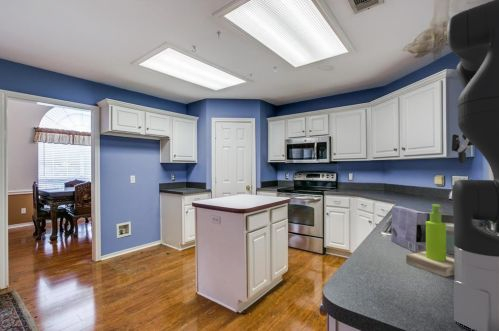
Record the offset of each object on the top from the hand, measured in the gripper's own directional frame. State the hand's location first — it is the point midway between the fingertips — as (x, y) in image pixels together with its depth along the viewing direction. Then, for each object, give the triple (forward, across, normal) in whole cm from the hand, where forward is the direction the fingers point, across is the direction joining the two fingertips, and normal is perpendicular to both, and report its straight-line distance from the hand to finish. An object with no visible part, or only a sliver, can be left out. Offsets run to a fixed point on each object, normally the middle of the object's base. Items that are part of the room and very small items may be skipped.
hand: (478, 162), depth 81 cm
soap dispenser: (+35, -10, -5) cm, 37 cm away
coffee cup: (+38, -18, +18) cm, 46 cm away
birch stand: (+38, -11, -5) cm, 40 cm away
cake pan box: (+38, -30, +8) cm, 49 cm away
